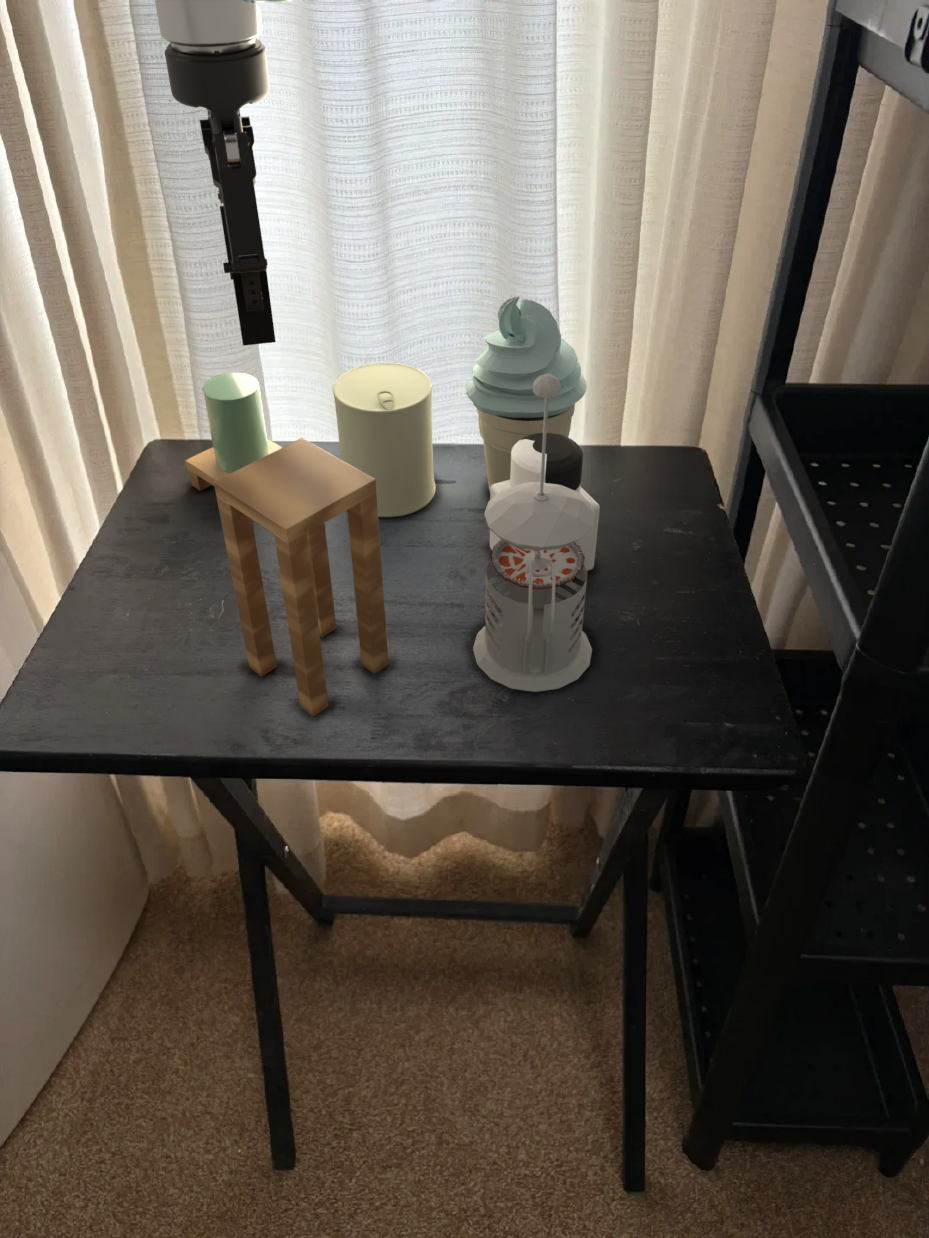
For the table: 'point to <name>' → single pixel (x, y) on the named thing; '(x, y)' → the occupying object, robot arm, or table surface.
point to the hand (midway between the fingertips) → (251, 308)
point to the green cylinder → (235, 420)
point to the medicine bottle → (551, 477)
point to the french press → (536, 581)
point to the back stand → (211, 467)
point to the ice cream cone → (522, 382)
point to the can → (388, 432)
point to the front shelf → (303, 557)
